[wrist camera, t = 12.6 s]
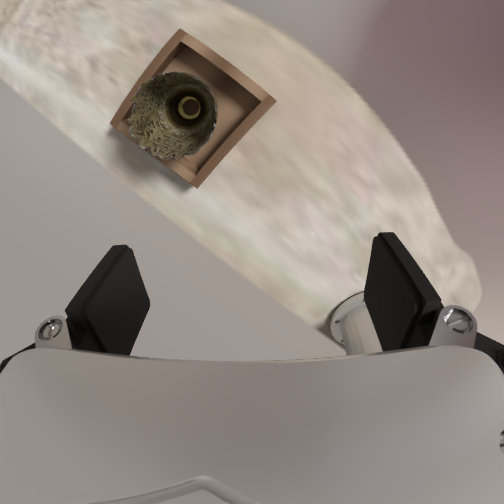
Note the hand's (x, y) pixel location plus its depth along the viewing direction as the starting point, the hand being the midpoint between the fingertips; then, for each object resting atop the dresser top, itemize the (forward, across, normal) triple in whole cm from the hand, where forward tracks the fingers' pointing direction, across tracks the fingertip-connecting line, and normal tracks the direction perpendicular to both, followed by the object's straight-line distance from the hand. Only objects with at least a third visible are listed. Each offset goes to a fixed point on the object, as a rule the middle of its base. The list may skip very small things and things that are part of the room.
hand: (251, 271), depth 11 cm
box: (+22, +6, -6) cm, 23 cm away
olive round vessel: (+21, +7, -6) cm, 23 cm away
